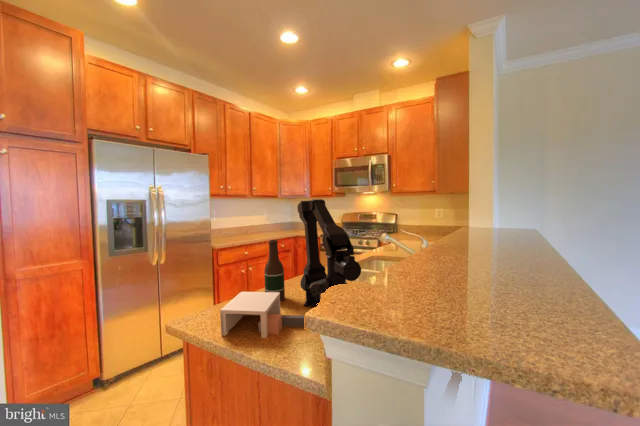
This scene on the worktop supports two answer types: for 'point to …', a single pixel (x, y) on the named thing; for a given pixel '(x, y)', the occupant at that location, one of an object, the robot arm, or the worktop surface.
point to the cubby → (250, 309)
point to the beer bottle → (274, 271)
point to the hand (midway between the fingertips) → (337, 320)
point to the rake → (290, 321)
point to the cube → (274, 323)
